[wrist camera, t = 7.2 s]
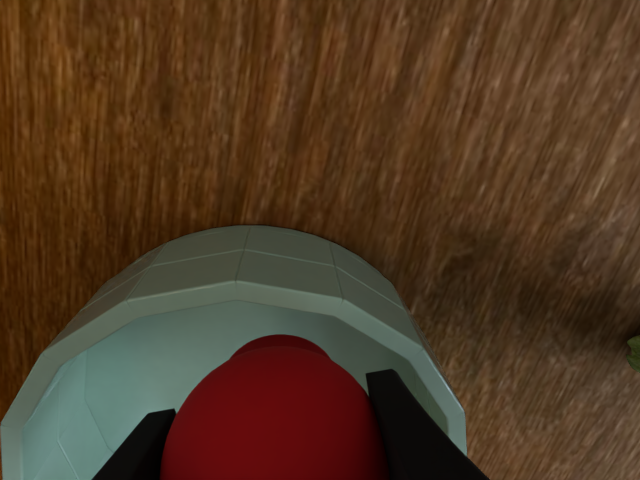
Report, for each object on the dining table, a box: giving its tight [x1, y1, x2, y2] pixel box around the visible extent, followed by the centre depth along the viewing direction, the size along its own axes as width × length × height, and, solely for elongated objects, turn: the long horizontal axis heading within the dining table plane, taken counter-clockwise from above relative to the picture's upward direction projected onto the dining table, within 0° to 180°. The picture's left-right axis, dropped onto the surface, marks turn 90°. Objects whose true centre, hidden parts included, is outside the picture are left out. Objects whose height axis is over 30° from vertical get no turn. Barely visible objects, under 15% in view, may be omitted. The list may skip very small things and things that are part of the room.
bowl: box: [0, 225, 467, 480], centre depth 13 cm, size 12×12×4 cm
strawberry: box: [160, 334, 390, 480], centre depth 8 cm, size 5×5×6 cm
